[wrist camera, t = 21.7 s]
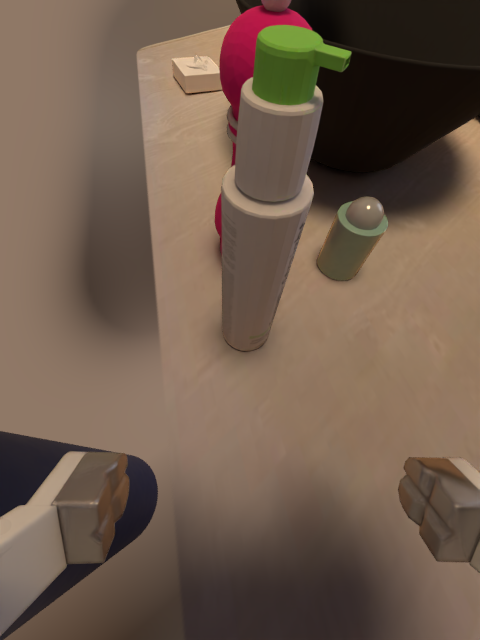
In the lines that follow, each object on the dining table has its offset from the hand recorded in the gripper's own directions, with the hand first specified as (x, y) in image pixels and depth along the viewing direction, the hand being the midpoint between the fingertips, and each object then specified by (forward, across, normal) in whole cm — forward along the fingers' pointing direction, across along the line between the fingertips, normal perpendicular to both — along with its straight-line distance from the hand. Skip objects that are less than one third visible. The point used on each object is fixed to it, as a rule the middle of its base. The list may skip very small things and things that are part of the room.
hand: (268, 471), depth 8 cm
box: (+57, +3, -36) cm, 68 cm away
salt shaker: (+24, -11, -4) cm, 27 cm away
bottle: (+18, 0, +2) cm, 18 cm away
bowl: (+42, -16, -21) cm, 49 cm away
